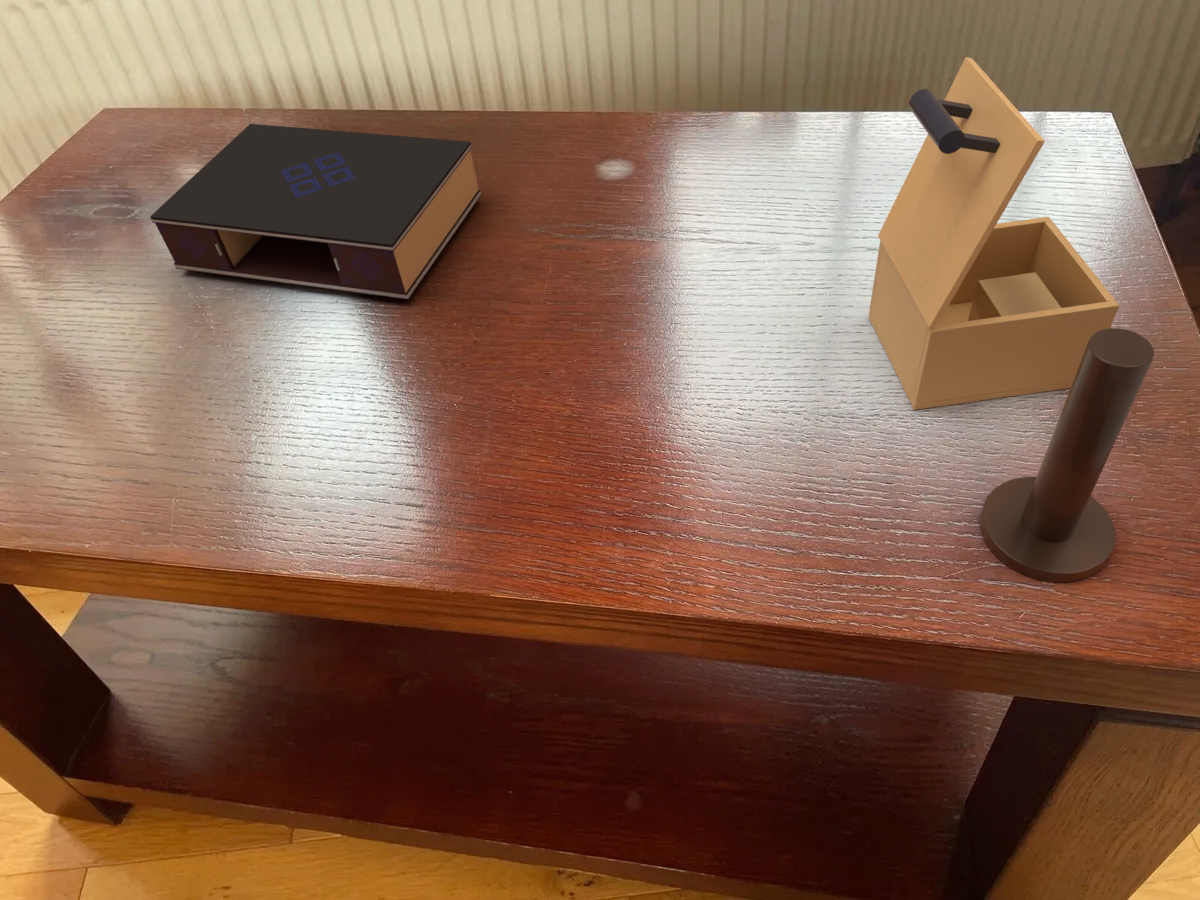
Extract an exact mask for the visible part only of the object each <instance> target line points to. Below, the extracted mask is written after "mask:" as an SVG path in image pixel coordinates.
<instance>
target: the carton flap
mask: <svg viewBox="0 0 1200 900" xmlns="http://www.w3.org/2000/svg"><path fill="white" fill-rule="evenodd" d="M908 107H909V109H910V111H911V112H912V113H913V115H914V117H915V118H916V119H917V121H918V122H919V123H920V125H921V127H923V129H924V130H925V132H926V134H927V135H926V137H925V138H924V141H923V143H922V145H921V147H920V149H919V151H918V153H917V155H916V157H915V159H914V161H913V163H912V165H911V167H910V170H909V172H908V173H907V175H906V177H905V179H904V182H903V184H902V186H901V188H900V190H899V191H898V194H897V195H896V198H895V200H894V202H893V203H892V206H891V208H890V209H889V212H888V215H887V217H886V218H885V220H884V223H883V225H882V227H881V228H880V230H879V232H878V235H877V237H878V239H879V242H880V241H881V242H882V244H883V246H884V248H885V250H886V251H887V253H888V255H889V257H890V259H891V260H892V262H893V264H894V266H895V268H896V269H897V271H898V273H899V275H900V277H901V278H902V280H903V282H904V284H905V286H906V287H907V289H908V291H909V293H910V295H911V296H912V298H913V300H914V302H915V304H916V305H917V307H918V309H919V311H920V313H921V314H922V316H923V318H924V320H925V322H926V323H927V325H928V327H929V328H936V326H937V324H938V322H939V321H940V319H941V317H942V316H943V314H944V312H945V311H946V309H947V307H948V305H949V304H950V302H951V300H952V299H953V297H954V295H955V294H956V292H957V290H958V288H959V287H960V285H961V283H962V282H963V280H964V278H965V277H966V275H967V273H968V271H969V270H970V268H971V266H972V265H973V263H974V261H975V260H976V258H977V256H978V254H979V253H980V251H981V249H982V248H983V246H984V244H985V243H986V241H987V239H988V237H989V236H990V234H991V232H992V231H993V229H994V227H995V226H996V224H998V222H999V221H1000V219H1001V217H1002V215H1003V214H1004V212H1005V211H1006V209H1007V207H1008V206H1009V203H1010V202H1011V200H1012V198H1013V197H1014V195H1015V193H1016V192H1017V190H1018V189H1019V186H1020V185H1021V183H1022V181H1023V180H1024V178H1025V177H1026V175H1027V172H1029V169H1030V168H1031V166H1032V164H1033V163H1034V161H1035V159H1036V158H1037V156H1038V155H1039V153H1040V151H1041V149H1042V147H1043V146H1044V144H1045V142H1046V141H1045V139H1044V138H1043V137H1042V136H1041V135H1040V134H1039V133H1038V131H1037V130H1036V129H1035V128H1034V127H1033V126H1032V125H1031V124H1030V122H1029V121H1028V120H1027V119H1026V118H1025V116H1024V115H1023V114H1022V113H1021V112H1020V111H1019V110H1018V109H1017V107H1015V105H1014V104H1013V103H1012V102H1011V101H1010V100H1009V98H1008V97H1006V95H1005V94H1004V92H1002V91H1001V89H1000V88H999V87H998V86H997V85H996V84H995V82H994V81H992V79H991V78H990V77H989V76H988V74H987V73H986V72H985V71H984V70H983V69H982V68H981V67H980V65H978V63H977V62H976V61H975V60H974V58H972V57H967V56H965V57H964V59H963V62H962V64H961V66H960V67H959V70H958V72H957V73H956V76H955V78H954V80H953V82H952V84H951V86H950V88H949V90H948V92H947V94H946V96H945V98H944V99H939V98H937V97H936V95H935V94H934V93H933V92H932V91H931V90H930V89H929V88H922V89H919V90H917V91H915V92H914V93H913V94H912V95H911V97H910V98H909V101H908Z"/></svg>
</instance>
